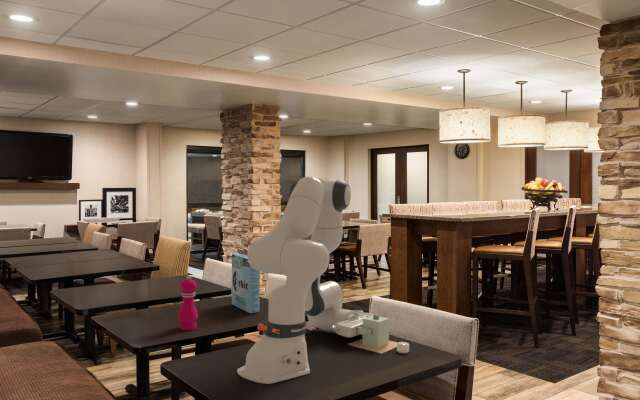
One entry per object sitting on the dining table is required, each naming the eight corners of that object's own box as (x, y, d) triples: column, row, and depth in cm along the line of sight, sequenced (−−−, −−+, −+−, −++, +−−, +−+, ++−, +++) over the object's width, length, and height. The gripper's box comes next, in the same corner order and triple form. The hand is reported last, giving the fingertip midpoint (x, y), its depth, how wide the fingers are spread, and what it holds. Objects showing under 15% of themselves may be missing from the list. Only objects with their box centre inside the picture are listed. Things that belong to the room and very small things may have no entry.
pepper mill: (192, 331, 200) (193, 277, 199) (174, 329, 202) (175, 276, 201) (201, 326, 207) (201, 274, 206) (183, 324, 209) (184, 273, 208)
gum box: (259, 312, 230) (260, 258, 229) (248, 313, 228) (249, 259, 227) (241, 303, 247) (241, 252, 246) (230, 304, 244) (231, 253, 243)
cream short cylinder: (405, 354, 179) (405, 346, 179) (394, 352, 182) (394, 343, 181) (411, 352, 182) (411, 343, 182) (400, 349, 185) (401, 341, 185)
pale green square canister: (378, 348, 184) (378, 318, 184) (362, 344, 188) (362, 315, 188) (388, 344, 189) (389, 315, 189) (372, 340, 193) (373, 311, 193)
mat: (381, 354, 179) (381, 353, 179) (347, 345, 188) (347, 344, 188) (403, 344, 190) (403, 344, 190) (370, 336, 199) (370, 335, 199)
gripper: (328, 319, 189) (360, 326, 180) (362, 309, 205) (393, 315, 196) (327, 337, 189) (360, 345, 180) (361, 325, 205) (393, 332, 196)
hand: (378, 329), depth 188 cm, fingers closed on pale green square canister, 7 cm apart
